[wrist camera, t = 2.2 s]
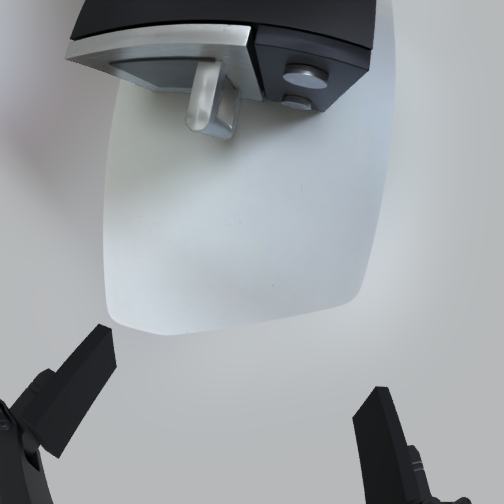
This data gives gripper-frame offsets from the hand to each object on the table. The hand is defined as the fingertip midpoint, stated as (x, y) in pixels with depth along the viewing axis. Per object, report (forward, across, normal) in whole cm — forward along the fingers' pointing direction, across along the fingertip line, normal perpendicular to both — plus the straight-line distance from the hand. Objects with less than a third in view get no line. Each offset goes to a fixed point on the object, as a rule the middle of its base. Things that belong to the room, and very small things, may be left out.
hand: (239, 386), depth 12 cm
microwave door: (+25, -11, +14) cm, 31 cm away
